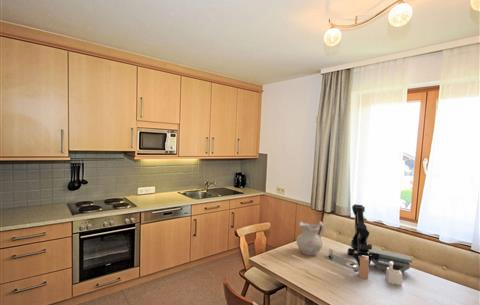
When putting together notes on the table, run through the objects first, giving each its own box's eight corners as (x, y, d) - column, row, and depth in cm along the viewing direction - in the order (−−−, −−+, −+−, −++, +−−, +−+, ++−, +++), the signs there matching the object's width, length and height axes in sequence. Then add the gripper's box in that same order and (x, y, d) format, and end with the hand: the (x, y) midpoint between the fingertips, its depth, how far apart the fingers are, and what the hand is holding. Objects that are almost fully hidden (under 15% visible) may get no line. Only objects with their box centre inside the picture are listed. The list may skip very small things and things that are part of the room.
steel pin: (329, 255, 186) (330, 247, 185) (332, 257, 184) (333, 248, 184) (328, 256, 184) (328, 248, 184) (331, 257, 182) (331, 249, 182)
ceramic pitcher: (311, 247, 204) (310, 217, 206) (330, 255, 188) (329, 222, 189) (291, 252, 193) (291, 220, 195) (310, 260, 177) (309, 225, 178)
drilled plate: (332, 255, 189) (332, 253, 189) (363, 266, 172) (363, 265, 172) (324, 259, 181) (324, 257, 181) (356, 271, 164) (356, 270, 164)
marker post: (358, 273, 162) (359, 255, 162) (366, 275, 160) (367, 257, 160) (359, 277, 157) (360, 258, 157) (368, 278, 156) (369, 260, 155)
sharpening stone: (409, 271, 168) (410, 256, 168) (411, 277, 161) (412, 260, 161) (368, 262, 179) (369, 247, 179) (368, 266, 172) (369, 251, 172)
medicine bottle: (398, 280, 156) (399, 261, 156) (401, 285, 149) (403, 266, 149) (385, 277, 158) (386, 259, 158) (388, 283, 152) (389, 264, 151)
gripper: (348, 236, 165) (349, 259, 155) (380, 240, 159) (383, 265, 149) (347, 243, 173) (347, 265, 163) (376, 248, 167) (379, 271, 157)
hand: (364, 267), depth 157 cm, fingers closed on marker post, 5 cm apart
